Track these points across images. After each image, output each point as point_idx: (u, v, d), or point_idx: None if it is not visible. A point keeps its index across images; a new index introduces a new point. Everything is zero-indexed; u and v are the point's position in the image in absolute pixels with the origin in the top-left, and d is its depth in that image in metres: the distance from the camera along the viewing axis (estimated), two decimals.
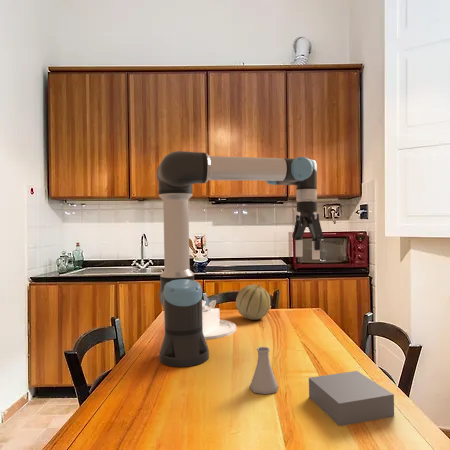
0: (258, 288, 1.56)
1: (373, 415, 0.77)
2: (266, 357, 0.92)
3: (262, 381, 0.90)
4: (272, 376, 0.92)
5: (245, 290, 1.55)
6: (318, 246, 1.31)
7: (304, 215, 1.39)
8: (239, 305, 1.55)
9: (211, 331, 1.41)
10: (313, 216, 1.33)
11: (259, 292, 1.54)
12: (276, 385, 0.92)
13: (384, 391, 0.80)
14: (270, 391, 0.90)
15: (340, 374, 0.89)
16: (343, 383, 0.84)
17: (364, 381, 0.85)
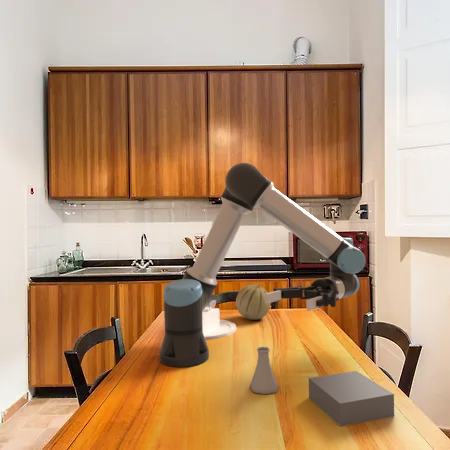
0: (258, 288, 1.56)
1: (373, 415, 0.77)
2: (266, 357, 0.92)
3: (262, 381, 0.90)
4: (272, 376, 0.92)
5: (245, 290, 1.55)
6: (322, 303, 0.97)
7: None
8: (239, 305, 1.55)
9: (211, 331, 1.41)
10: (337, 292, 1.06)
11: (259, 292, 1.54)
12: (276, 385, 0.92)
13: (384, 390, 0.80)
14: (270, 391, 0.90)
15: (340, 374, 0.89)
16: (342, 383, 0.84)
17: (364, 381, 0.85)
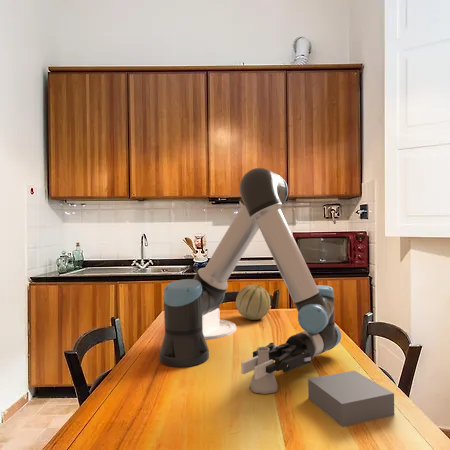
0: (258, 288, 1.56)
1: (374, 415, 0.77)
2: (266, 357, 0.92)
3: (262, 380, 0.90)
4: (272, 376, 0.92)
5: (245, 290, 1.55)
6: (272, 369, 0.90)
7: None
8: (239, 305, 1.55)
9: (211, 331, 1.41)
10: (307, 355, 0.96)
11: (259, 292, 1.54)
12: (276, 385, 0.92)
13: (384, 390, 0.81)
14: (270, 391, 0.90)
15: (339, 374, 0.89)
16: (342, 383, 0.84)
17: (363, 381, 0.85)
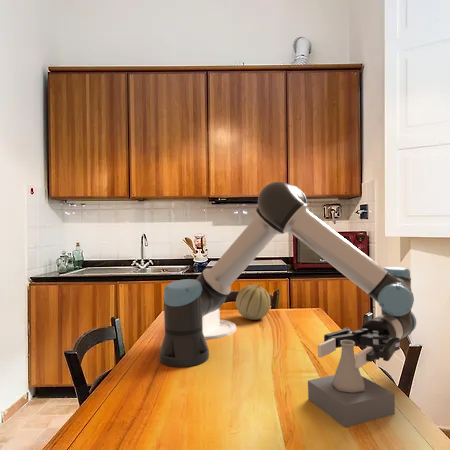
0: (258, 288, 1.56)
1: (375, 416, 0.78)
2: (352, 352, 0.82)
3: (348, 378, 0.81)
4: (359, 372, 0.82)
5: (245, 290, 1.55)
6: (374, 357, 0.79)
7: None
8: (239, 305, 1.55)
9: (211, 331, 1.41)
10: (397, 340, 0.86)
11: (259, 292, 1.54)
12: (363, 382, 0.82)
13: (384, 390, 0.81)
14: (358, 389, 0.80)
15: None
16: None
17: (363, 381, 0.85)
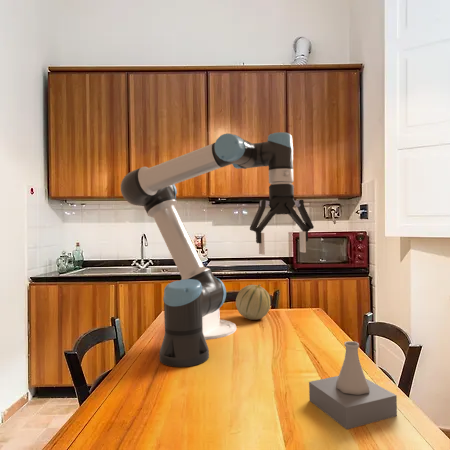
0: (258, 288, 1.56)
1: (377, 418, 0.77)
2: (356, 353, 0.81)
3: (353, 379, 0.80)
4: (363, 374, 0.81)
5: (245, 290, 1.55)
6: (257, 238, 1.12)
7: None
8: (239, 305, 1.55)
9: (211, 331, 1.41)
10: (259, 203, 1.13)
11: (259, 292, 1.54)
12: (367, 384, 0.81)
13: (386, 392, 0.80)
14: (363, 391, 0.79)
15: None
16: None
17: None
